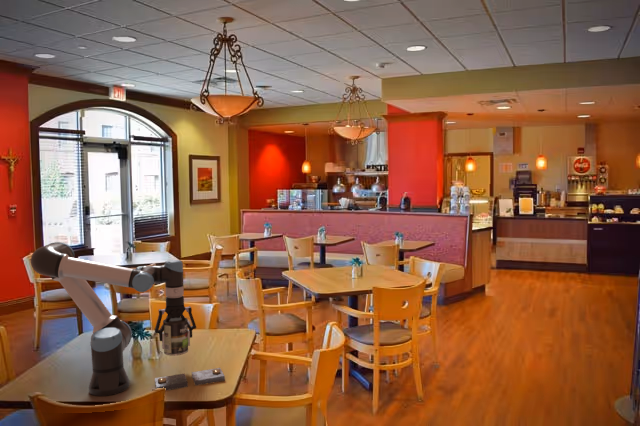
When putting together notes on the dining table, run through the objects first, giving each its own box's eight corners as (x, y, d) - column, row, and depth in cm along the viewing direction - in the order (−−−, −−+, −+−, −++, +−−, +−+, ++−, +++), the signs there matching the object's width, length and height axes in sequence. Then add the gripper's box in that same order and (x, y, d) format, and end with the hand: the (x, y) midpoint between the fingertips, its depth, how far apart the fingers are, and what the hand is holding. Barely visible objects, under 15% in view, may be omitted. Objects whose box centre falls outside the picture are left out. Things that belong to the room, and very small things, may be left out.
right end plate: (195, 385, 214) (194, 378, 214) (191, 376, 224) (191, 370, 223) (224, 380, 219) (224, 373, 218) (220, 372, 228) (219, 365, 228)
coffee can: (192, 348, 234) (191, 317, 232) (181, 356, 223) (180, 323, 222) (170, 347, 236) (170, 316, 235) (159, 355, 226) (158, 322, 224)
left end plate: (156, 392, 209) (156, 384, 209) (154, 382, 218) (154, 375, 218) (187, 386, 213) (187, 379, 213) (184, 378, 222) (184, 371, 222)
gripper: (147, 300, 220) (149, 352, 222) (202, 295, 228) (203, 345, 230) (146, 296, 227) (148, 347, 229) (200, 291, 235) (201, 340, 237)
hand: (176, 346), depth 229 cm, fingers closed on coffee can, 10 cm apart
